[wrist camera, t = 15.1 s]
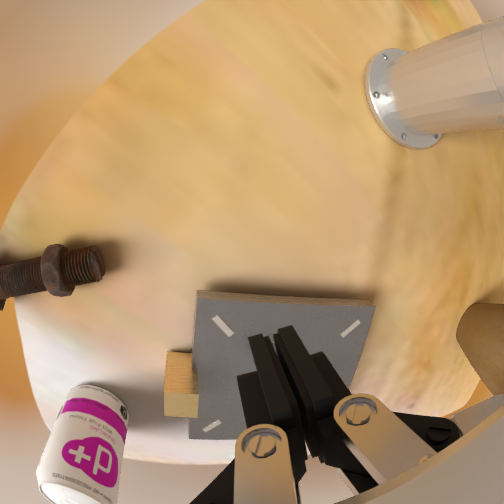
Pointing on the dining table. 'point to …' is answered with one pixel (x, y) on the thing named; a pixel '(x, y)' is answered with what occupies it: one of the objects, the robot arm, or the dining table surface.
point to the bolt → (51, 272)
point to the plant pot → (484, 342)
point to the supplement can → (85, 449)
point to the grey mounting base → (240, 356)
